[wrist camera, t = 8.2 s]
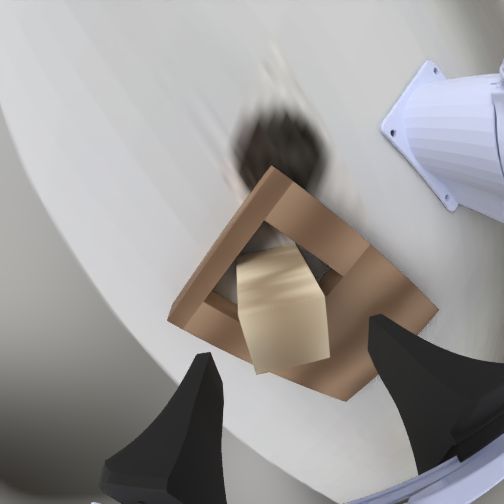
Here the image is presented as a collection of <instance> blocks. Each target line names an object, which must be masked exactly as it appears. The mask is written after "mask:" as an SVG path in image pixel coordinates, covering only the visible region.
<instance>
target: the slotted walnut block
mask: <svg viewBox="0 0 504 504" xmlns="http://www.w3.org/2000/svg"><path fill="white" fill-rule="evenodd" d="M264 220H265V221H266V222H268V223H269V224H270V225H272V226H273V227H275V228H276V229H278V230H279V231H280V232H282V233H283V234H285V235H286V236H288V237H289V238H290V239H292V240H293V241H295V242H296V243H297V244H299V245H300V246H302V247H303V248H304V249H306V250H307V251H309V252H310V253H311V254H313V255H314V256H316V257H317V258H318V259H320V260H321V261H323V262H324V263H325V264H327V265H328V266H329V267H331V269H330V270H329V271H328V272H327V273H326V275H325V276H324V277H323V278H322V279H321V280H320V282H319V283H318V285H319V287H320V289H321V290H322V292H323V294H324V296H325V304H326V314H327V326H328V338H329V351H330V358H326V359H322V360H319V361H315V362H311V363H307V364H303V365H299V366H295V367H291V368H286V369H282V370H277V371H272V372H271V373H273V374H276V375H278V376H280V377H283V378H285V379H287V380H290V381H292V382H295V383H297V384H300V385H302V386H305V387H307V388H310V389H312V390H315V391H318V392H320V393H323V394H326V395H328V396H331V397H334V398H337V399H339V400H342V401H345V402H346V401H347V400H349V399H350V398H351V397H352V396H353V395H355V394H356V393H357V392H358V391H359V390H361V389H362V388H363V387H364V386H365V385H366V384H368V383H369V382H370V381H371V380H372V379H373V378H374V377H375V376H376V375H378V372H377V370H376V369H375V367H374V364H373V362H372V360H371V357H370V355H369V352H368V350H367V349H368V332H369V317H371V316H374V315H377V314H383V315H385V316H386V317H388V318H389V319H391V320H392V321H394V322H396V323H397V324H399V325H400V326H402V327H403V328H405V329H407V330H408V331H410V332H412V333H413V334H415V335H418V334H419V333H420V331H421V330H422V329H423V328H424V327H425V326H426V325H427V324H428V322H429V321H430V320H431V319H432V318H433V317H434V316H435V314H436V313H437V312H438V311H439V309H438V308H437V307H436V306H435V305H434V304H433V303H432V302H431V301H430V300H429V299H428V298H427V297H426V296H425V295H424V294H423V293H422V292H421V291H420V290H419V289H418V288H417V287H416V286H415V285H414V284H413V283H412V282H411V281H410V280H409V279H408V278H407V277H406V276H405V275H403V274H402V273H401V272H400V271H399V270H398V269H397V268H396V267H395V266H394V265H393V264H392V263H391V262H389V261H388V260H387V259H386V258H385V257H384V256H383V255H382V254H381V253H380V252H378V251H377V250H376V249H375V248H374V247H373V246H372V245H371V244H369V243H368V242H367V241H366V240H365V239H364V238H363V237H361V236H360V235H359V234H358V233H357V232H356V231H354V230H353V229H352V228H351V227H350V226H348V225H347V224H346V223H345V222H344V221H343V220H341V219H340V218H339V217H338V216H336V215H335V214H334V213H333V212H332V211H330V210H329V209H328V208H327V207H325V206H324V205H323V204H322V203H320V202H319V201H318V200H317V199H315V198H314V197H313V196H312V195H310V194H309V193H308V192H306V191H305V190H304V189H303V188H301V187H300V186H299V185H297V184H296V183H295V182H293V181H292V180H291V179H289V178H288V177H287V176H285V175H284V174H283V173H281V172H280V171H279V170H277V169H276V168H274V167H273V166H270V167H269V169H268V170H267V171H266V173H265V174H264V175H263V177H262V178H261V179H260V181H259V182H258V184H257V185H256V186H255V188H254V189H253V190H252V192H251V193H250V194H249V196H248V197H247V199H246V200H245V201H244V203H243V204H242V205H241V207H240V208H239V210H238V211H237V212H236V214H235V215H234V216H233V218H232V219H231V221H230V222H229V223H228V225H227V226H226V228H225V229H224V230H223V232H222V233H221V235H220V236H219V238H218V239H217V240H216V242H215V243H214V245H213V246H212V247H211V249H210V250H209V252H208V253H207V255H206V256H205V258H204V259H203V260H202V262H201V263H200V265H199V266H198V268H197V269H196V271H195V272H194V273H193V275H192V276H191V278H190V279H189V281H188V282H187V284H186V285H185V287H184V288H183V290H182V291H181V293H180V294H179V296H178V297H177V299H176V300H175V302H174V303H173V305H172V307H171V310H170V313H169V316H168V319H167V321H169V322H170V323H172V324H174V325H176V326H178V327H179V328H181V329H183V330H185V331H187V332H189V333H190V334H192V335H194V336H196V337H198V338H200V339H202V340H204V341H206V342H208V343H210V344H212V345H213V346H215V347H217V348H219V349H221V350H224V351H226V352H228V353H230V354H232V355H234V356H236V357H238V358H240V359H242V360H244V361H246V362H249V363H251V364H253V362H252V359H251V356H250V353H249V350H248V346H247V343H246V340H245V337H244V334H243V330H242V327H241V324H240V320H239V317H238V305H236V304H234V303H232V302H231V301H229V300H227V299H225V298H224V297H222V296H220V295H219V294H217V293H215V292H213V291H212V289H213V288H214V287H215V285H216V284H217V283H218V281H219V280H220V279H221V277H222V276H223V275H224V273H225V272H226V271H227V269H228V268H229V266H230V265H231V264H232V262H233V261H234V260H235V258H236V257H237V256H238V254H239V253H240V252H241V250H242V249H243V248H244V246H245V245H246V244H247V242H248V241H249V240H250V238H251V237H252V236H253V234H254V233H255V232H256V230H257V229H258V228H259V226H260V225H261V224H262V222H263V221H264Z"/></svg>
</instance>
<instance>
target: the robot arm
mask: <svg viewBox="0 0 504 504" xmlns="http://www.w3.org/2000/svg"><path fill="white" fill-rule="evenodd" d="M434 70H435V72H436V74H435V73H434ZM499 71H500V73H497V74H486V75H476V76H468V77H461V78H454V79H447V78H446V77H445V75H444V74H443V73H442V72H441V70H440V69H439V68H438V67H437V66H436V65H435V63H434V62H433V61H431V60H428V61H426V62H425V63H424V64H423V66H422V67H421V68H420V70H419V71H418V73H417V74H416V76H415V77H414V78H413V80H412V81H411V83H410V84H409V85H408V87H407V88H406V90H405V91H404V92H403V94H402V95H401V97H400V98H399V99H398V101H397V102H396V104H395V105H394V106H393V108H392V109H391V111H390V112H389V113H388V115H387V116H386V117H385V119H384V120H383V122H382V123H381V125H380V130H381V132H382V134H383V135H384V136H385V137H386V138H387V139H388V140H389V141H390V142H391V143H392V144H393V145H394V146H395V147H396V148H397V149H398V150H399V151H400V152H401V153H402V155H403V156H404V157H405V158H406V159H407V160H408V161H409V162H410V164H411V165H412V166H413V167H414V168H415V169H416V170H417V172H418V173H419V174H420V175H421V176H422V178H423V179H424V180H425V181H426V182H427V184H428V185H429V186H430V187H431V189H432V190H433V191H434V193H435V194H436V195H437V196H438V198H439V199H440V200H441V202H442V203H443V204H444V206H445V207H446V208H447V210H448V211H450V212H453V211H455V210H456V208H457V206H458V205H459V204H460V205H463V206H465V207H467V208H470V209H472V210H475V211H477V212H479V213H482V214H484V215H486V216H488V217H491V218H493V219H495V220H497V221H499V222H501V223H503V224H504V59H503V63H502V65H501V67H500V70H499ZM391 130H393V132H394V135H393V137H392V136H391V133H390V132H391ZM446 195H447V198H446V199H445V197H446ZM367 350H368V352H369V355H370V357H371V360H372V362H373V364H374V367H375V369H376V370H377V372H378V374H379V376H380V377H381V379H382V381H383V383H384V384H385V386H386V388H387V389H388V391H389V393H390V395H391V396H392V398H393V400H394V402H395V404H396V406H397V408H398V410H399V413H400V415H401V418H402V420H403V423H404V426H405V428H406V431H407V434H408V437H409V440H410V444H411V447H412V450H413V454H414V458H415V462H416V466H417V470H418V475H419V476H416V477H414V478H412V479H410V480H408V481H405V482H403V483H401V484H398V485H396V486H393V487H391V488H388V489H386V490H383V491H381V492H378V493H375V494H372V495H369V496H366V497H363V498H360V499H357V500H354V501H351V502H347V503H344V504H395V503H397V502H399V501H402V500H404V499H406V498H408V497H410V498H409V501H408V502H407V503H404V504H470V503H471V502H473V501H474V500H475V499H477V498H479V497H480V496H481V495H483V494H484V493H486V492H487V491H488V490H490V489H491V488H492V487H494V486H495V485H496V484H497V483H499V482H500V481H501V480H503V479H504V363H495V362H487V361H482V360H477V359H472V358H468V357H465V356H462V355H459V354H456V353H453V352H450V351H448V350H445V349H443V348H440V347H438V346H436V345H434V344H432V343H430V342H428V341H426V340H424V339H422V338H420V337H419V336H417V335H415V334H413V333H412V332H410V331H408V330H407V329H405V328H403V327H402V326H400V325H399V324H397V323H396V322H394V321H392V320H391V319H389V318H388V317H386V316H385V315H383V314H377V315H374V316H371V317H369V332H368V349H367ZM223 407H224V397H223V382H222V380H221V377H220V375H219V372H218V370H217V368H216V365H215V363H214V360H213V358H212V355H211V352H207V353H201V354H197V355H196V356H195V358H194V360H193V362H192V364H191V366H190V368H189V370H188V371H187V373H186V375H185V377H184V379H183V380H182V382H181V384H180V385H179V387H178V389H177V391H176V392H175V394H174V395H173V397H172V398H171V399H170V401H169V402H168V404H167V405H166V407H165V408H164V409H163V411H162V412H161V413H160V414H159V416H158V417H157V418H156V419H155V420H154V421H153V422H152V423H151V424H150V426H149V427H148V428H147V429H146V430H145V431H144V432H143V433H142V434H141V435H139V437H137V438H136V439H135V440H134V441H133V442H131V443H130V444H129V445H127V446H126V447H125V448H124V449H122V450H121V451H119V452H118V453H116V454H115V455H113V456H112V457H110V458H109V459H107V460H105V463H104V466H103V469H102V473H101V477H100V482H99V488H100V489H101V490H102V491H103V492H104V493H105V494H107V495H108V496H110V497H112V498H113V499H115V500H116V501H118V502H120V503H121V504H227V501H226V494H225V487H224V478H223V467H222V453H221V439H222V423H223ZM413 495H414V496H413ZM411 496H412V497H411ZM92 504H99V503H95V502H92Z"/></svg>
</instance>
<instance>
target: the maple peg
mask: <svg viewBox="0 0 504 504" xmlns="http://www.w3.org/2000/svg"><path fill="white" fill-rule="evenodd" d="M236 268H237V298H238V317H239V320H240V324H241V327H242V330H243V334H244V337H245V340H246V343H247V346H248V350H249V353H250V356H251V359H252V362H253V365H254V369H255V372H256V375H258V374H263V373H268V372H272V371H277V370H282V369H286V368H291V367H295V366H299V365H303V364H307V363H311V362H315V361H319V360H322V359H326V358H330V351H329V338H328V326H327V314H326V304H325V296H324V294H323V292H322V290H321V289H320V287H319V285H318V283H317V281H316V280H315V278H314V276H313V274H312V272H311V271H310V269H309V267H308V265H307V264H306V262H305V260H304V258H303V257H302V255H301V253H300V252H299V250H298V248H297V246H296V245H295V243H293V244H288V245H284V246H279V247H275V248H271V249H266V250H262V251H257V252H253V253H249V254H244V255H240V256H237V257H236Z"/></svg>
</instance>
